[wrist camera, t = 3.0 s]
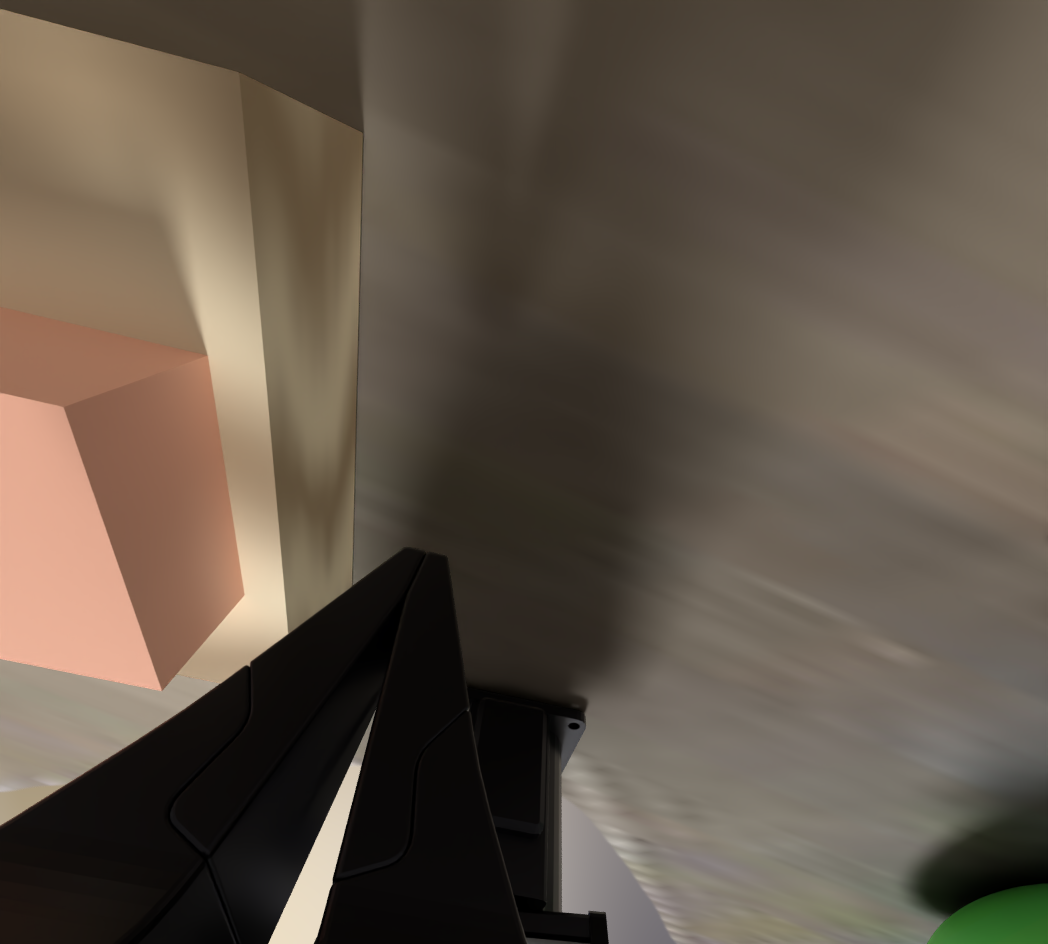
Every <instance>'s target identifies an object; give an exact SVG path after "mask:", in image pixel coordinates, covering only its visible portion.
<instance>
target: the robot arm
mask: <svg viewBox="0 0 1048 944" xmlns="http://www.w3.org/2000/svg"><path fill="white" fill-rule="evenodd" d="M376 707H377V708H376ZM375 710H376V712H375ZM374 712H375V716H374V719H373V723H372V727H371V731H370V735H369V739H368V743H367V747H366V751H365V755H364V759H363V762H362V766H361V771H360V774H359V778H358V782H357V786H356V790H355V794H354V798H353V802H352V805H351V809H350V813H349V817H348V821H347V825H346V829H345V833H344V837H343V841H342V845H341V848H340V853H339V856H338V860H337V864H336V868H335V872H334V876H333V885H332V887H331V889H330V891H329V896H328V899H327V903H326V907H325V911H324V914H323V918H322V922H321V925H320V929H319V932H318V936H317V938H316V940H315V942H314V944H609V942H608V932H607V921H606V913H605V912H596V911H589V913H588V915H585V914H574V913H563V912H562V880H561V879H562V869H561V868H562V865H561V864H562V858H561V857H562V856H561V855H562V852H561V850H562V846H561V845H562V844H561V843H562V841H561V840H562V839H561V838H562V837H561V833H562V831H561V774H562V772H563V770H564V768H565V766H566V764H567V762H568V761H569V759H570V757H571V755H572V753H573V751H574V749H575V747H576V745H577V744H578V742H579V740H580V738H581V736H582V734H583V732H584V730H585V728H586V719H585V715H584V713H582V712H581V711H578V710H573V709H569V708H564V707H559V706H554V705H549V704H544V703H539V702H535V701H530V700H525V699H520V698H515V697H510V696H505V695H501V694H496V693H491V692H486V691H481V690H476V689H471V688H467V685H466V679H465V672H464V665H463V658H462V651H461V644H460V637H459V631H458V624H457V617H456V610H455V603H454V596H453V589H452V583H451V576H450V569H449V562H448V558H447V556H446V555H443V554H438V553H434V552H428V553H427V554H426V552H425V551H424V550H420V549H416V548H411V547H405V548H403V549H402V550H400V551H399V552H398V553H396V554H395V555H394V556H392V557H391V558H389V559H388V560H387V561H385V562H384V563H383V564H381V565H380V566H379V567H377V568H376V569H375V570H373V571H372V572H371V573H369V574H368V575H367V576H365V577H364V578H363V579H361V580H360V581H358V582H357V583H356V584H354V585H353V586H352V587H350V588H349V589H348V590H346V591H345V592H344V593H342V594H341V595H340V596H338V597H337V598H336V599H334V600H333V601H332V602H330V603H329V604H327V605H326V606H325V607H323V608H322V609H321V610H319V611H318V612H317V613H315V614H314V615H313V616H311V617H310V618H309V619H307V620H306V621H305V622H303V623H302V624H301V625H299V626H298V627H296V628H295V629H294V630H292V631H291V632H290V633H288V634H287V635H286V636H284V637H283V638H282V639H280V640H279V641H278V642H276V643H275V644H274V645H272V646H271V647H270V648H268V649H267V650H265V651H264V652H263V653H261V654H260V655H259V656H257V657H256V658H255V659H253V660H252V661H251V662H250V667H249V666H248V665H245V666H243V667H242V668H241V669H239V670H238V671H237V672H235V673H234V674H233V675H231V676H230V677H229V678H227V679H226V680H225V681H223V682H222V683H221V684H219V685H218V686H216V687H215V688H214V689H212V690H211V691H209V692H208V693H206V694H205V695H204V696H202V697H201V698H199V699H198V700H197V701H195V702H194V703H192V704H191V705H190V706H188V707H187V708H185V709H184V710H182V711H181V712H179V713H178V714H176V715H175V716H173V717H172V718H170V719H169V720H167V721H165V722H164V723H162V724H161V725H159V726H158V727H156V728H155V729H153V730H152V731H150V732H149V733H147V734H145V735H144V736H142V737H141V738H139V739H138V740H136V741H135V742H133V743H132V744H130V745H128V746H127V747H125V748H124V749H122V750H120V751H119V752H117V753H116V754H114V755H112V756H111V757H109V758H108V759H106V760H104V761H103V762H101V763H100V764H98V765H96V766H95V767H93V768H92V769H90V770H88V771H87V772H85V773H84V774H82V775H81V776H79V777H77V778H76V779H74V780H73V781H71V782H69V783H68V784H66V785H65V786H63V787H61V788H60V789H58V790H57V791H55V792H53V793H52V794H50V795H49V796H47V797H45V798H44V799H42V800H41V801H39V802H37V803H36V804H34V805H33V806H31V807H30V808H28V809H26V810H25V811H23V812H22V813H20V814H18V815H17V816H15V817H14V818H12V819H10V820H9V821H7V822H6V823H4V824H2V825H1V826H0V944H268V943H269V941H270V938H271V936H272V934H273V932H274V930H275V927H276V925H277V923H278V921H279V919H280V917H281V914H282V912H283V910H284V908H285V906H286V904H287V901H288V899H289V897H290V895H291V893H292V891H293V888H294V886H295V884H296V882H297V880H298V877H299V875H300V873H301V871H302V869H303V866H304V864H305V862H306V860H307V858H308V855H309V853H310V851H311V849H312V847H313V845H314V842H315V840H316V838H317V836H318V834H319V832H320V830H321V827H322V825H323V823H324V821H325V819H326V816H327V814H328V812H329V810H330V808H331V806H332V803H333V801H334V799H335V797H336V795H337V792H338V790H339V788H340V786H341V784H342V781H343V779H344V777H345V775H346V773H347V771H348V769H349V766H350V764H351V762H352V760H353V758H354V755H355V753H356V751H357V749H358V747H359V745H360V742H361V740H362V738H363V736H364V734H365V731H366V729H367V727H368V725H369V723H370V721H371V718H372V716H373V714H374Z"/></svg>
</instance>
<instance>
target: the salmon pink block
mask: <svg viewBox="0 0 1048 944" xmlns="http://www.w3.org/2000/svg"><path fill="white" fill-rule="evenodd" d="M244 595H245V594H244V587H243V581H242V574H241V568H240V561H239V555H238V548H237V542H236V535H235V529H234V522H233V516H232V509H231V503H230V496H229V490H228V483H227V477H226V470H225V464H224V457H223V451H222V444H221V438H220V431H219V425H218V418H217V412H216V405H215V399H214V392H213V386H212V379H211V373H210V366H209V360H208V356H207V355H203V354H199V353H195V352H190V351H186V350H182V349H178V348H173V347H169V346H165V345H161V344H156V343H152V342H148V341H144V340H139V339H135V338H131V337H127V336H122V335H118V334H114V333H110V332H105V331H101V330H97V329H92V328H88V327H84V326H80V325H75V324H71V323H67V322H63V321H58V320H54V319H50V318H46V317H41V316H37V315H33V314H29V313H24V312H20V311H16V310H12V309H7V308H3V307H0V659H4V660H9V661H14V662H19V663H24V664H29V665H34V666H39V667H44V668H49V669H54V670H59V671H64V672H69V673H74V674H79V675H84V676H89V677H94V678H99V679H104V680H109V681H114V682H119V683H124V684H129V685H134V686H139V687H144V688H149V689H154V690H159V691H162V690H163V689H164V688H165V687H166V686H167V685H168V683H169V682H170V681H171V680H172V679H173V678H174V677H175V675H176V674H177V673H178V672H179V671H180V670H181V668H182V667H183V666H184V665H185V664H186V663H187V661H188V660H189V659H190V658H191V657H192V656H193V655H194V653H195V652H196V651H197V650H198V649H199V648H200V646H201V645H202V644H203V643H204V642H205V641H206V639H207V638H208V637H209V636H210V635H211V634H212V633H213V631H214V630H215V629H216V628H217V627H218V626H219V624H220V623H221V622H222V621H223V620H224V619H225V617H226V616H227V615H228V614H229V613H230V612H231V611H232V609H233V608H234V607H235V606H236V605H237V604H238V602H239V601H240V600H241V599H242V598H243V597H244Z"/></svg>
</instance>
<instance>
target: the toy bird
mask: <svg viewBox="0 0 1048 944" xmlns="http://www.w3.org/2000/svg"><path fill="white" fill-rule="evenodd" d="M927 944H1048V883H1045V884H1034V885H1026V886H1020V887H1015V888H1011V889H1006V890H1003V891H999V892H996V893H993V894H990V895H987V896H985V897H982V898H980V899H978V900H976V901H973V902H971V903H970V904H968V905H966V906H964V907H963V908H961V909H959V910H958V911H957V912H955V913H954V914H952V915H951V916H950V917H949V918H948V919H946V920H945V921H944V922H943V923H942V924H941V925H940V926H939V927H938V929H937V930H936V931H935V932H934V934H933V935H932V936H931V938H930V940H929V941H928V943H927Z"/></svg>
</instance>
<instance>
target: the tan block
mask: <svg viewBox="0 0 1048 944" xmlns="http://www.w3.org/2000/svg"><path fill="white" fill-rule="evenodd" d="M362 153H363V133H362V132H360V131H358V130H356V129H354V128H352V127H350V126H348V125H345V124H343V123H341V122H339V121H337V120H335V119H333V118H331V117H329V116H327V115H325V114H323V113H321V112H319V111H317V110H315V109H313V108H311V107H309V106H307V105H305V104H303V103H301V102H299V101H297V100H295V99H293V98H291V97H289V96H286V95H284V94H282V93H280V92H278V91H276V90H274V89H272V88H270V87H268V86H266V85H264V84H262V83H260V82H258V81H256V80H254V79H252V78H250V77H248V76H246V75H244V74H242V73H240V72H236V71H233V70H229V69H225V68H221V67H218V66H214V65H210V64H206V63H202V62H199V61H195V60H191V59H187V58H184V57H180V56H176V55H172V54H169V53H165V52H161V51H157V50H153V49H150V48H146V47H142V46H138V45H135V44H131V43H127V42H123V41H120V40H116V39H112V38H108V37H104V36H101V35H97V34H93V33H89V32H86V31H82V30H78V29H74V28H71V27H67V26H63V25H59V24H55V23H52V22H48V21H44V20H40V19H37V18H33V17H29V16H25V15H22V14H18V13H14V12H10V11H6V10H3V9H0V307H3V308H7V309H12V310H16V311H20V312H24V313H29V314H33V315H37V316H41V317H46V318H50V319H54V320H58V321H63V322H67V323H71V324H75V325H80V326H84V327H88V328H92V329H97V330H101V331H105V332H110V333H114V334H118V335H122V336H127V337H131V338H135V339H139V340H144V341H148V342H152V343H156V344H161V345H165V346H169V347H173V348H178V349H182V350H186V351H190V352H195V353H199V354H203V355H207V356H208V360H209V366H210V373H211V379H212V386H213V392H214V399H215V405H216V412H217V418H218V425H219V431H220V438H221V444H222V451H223V457H224V464H225V470H226V477H227V483H228V490H229V496H230V503H231V509H232V516H233V522H234V529H235V535H236V542H237V548H238V555H239V561H240V568H241V574H242V581H243V587H244V594H245V595H244V597H243V598H242V599H241V600H240V601H239V602H238V604H237V605H236V606H235V607H234V608H233V609H232V611H231V612H230V613H229V614H228V615H227V616H226V617H225V619H224V620H223V621H222V622H221V623H220V624H219V626H218V627H217V628H216V629H215V630H214V631H213V633H212V634H211V635H210V636H209V637H208V638H207V639H206V641H205V642H204V643H203V644H202V645H201V646H200V648H199V649H198V650H197V651H196V652H195V653H194V655H193V656H192V657H191V658H190V659H189V660H188V661H187V663H186V664H185V665H184V666H183V667H182V668H181V670H180V671H179V672H178V673H177V674H176V675H181V676H186V677H191V678H196V679H201V680H206V681H211V682H216V683H222V682H223V681H225V680H226V679H227V678H229V677H230V676H231V675H233V674H234V673H235V672H237V671H238V670H239V669H241V668H242V667H243V666H245V665H248V666H249V667H250V662H251V661H252V660H253V659H255V658H256V657H257V656H259V655H260V654H261V653H263V652H264V651H265V650H267V649H268V648H270V647H271V646H272V645H274V644H275V643H276V642H278V641H279V640H280V639H282V638H283V637H284V636H286V635H287V634H288V633H290V632H291V631H292V630H294V629H295V628H296V627H298V626H299V625H301V624H302V623H303V622H305V621H306V620H307V619H309V618H310V617H311V616H313V615H314V614H315V613H317V612H318V611H319V610H321V609H322V608H323V607H325V606H326V605H327V604H329V603H330V602H332V601H333V600H334V599H336V598H337V597H338V596H340V595H341V594H342V593H344V592H345V591H346V590H348V589H349V588H350V587H352V568H353V526H354V485H355V443H356V402H357V360H358V319H359V277H360V236H361V194H362Z"/></svg>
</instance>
